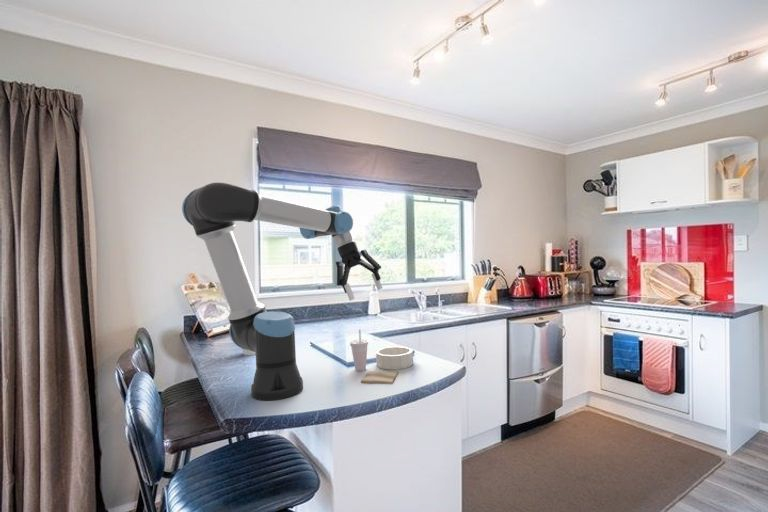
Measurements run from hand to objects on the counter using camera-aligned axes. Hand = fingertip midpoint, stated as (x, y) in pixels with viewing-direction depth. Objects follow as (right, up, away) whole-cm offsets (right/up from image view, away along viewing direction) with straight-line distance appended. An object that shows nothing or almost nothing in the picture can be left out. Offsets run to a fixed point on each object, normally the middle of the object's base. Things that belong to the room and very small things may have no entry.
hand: (366, 294), depth 149 cm
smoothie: (-1, -25, -15) cm, 29 cm away
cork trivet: (+6, -24, -26) cm, 36 cm away
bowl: (+11, -24, -12) cm, 29 cm away
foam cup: (-50, -27, +16) cm, 59 cm away
